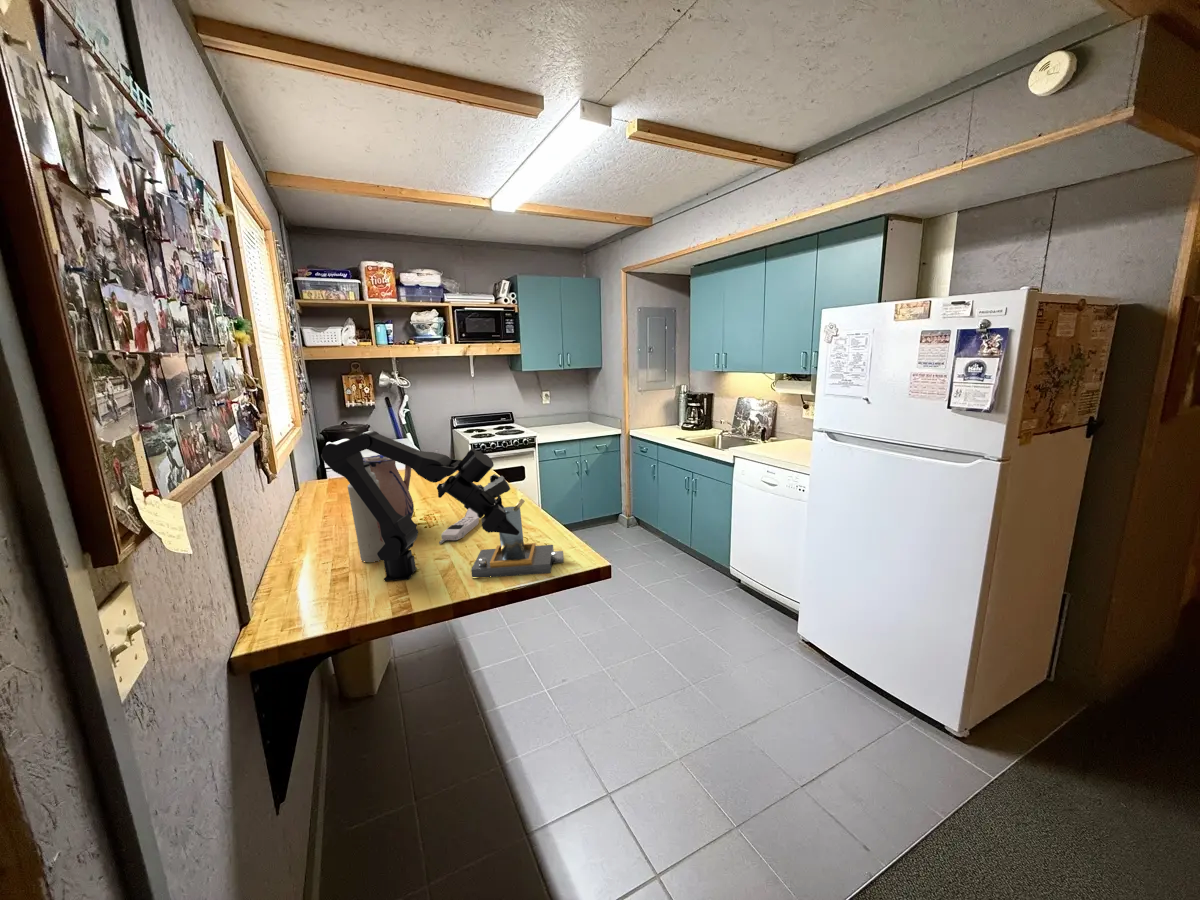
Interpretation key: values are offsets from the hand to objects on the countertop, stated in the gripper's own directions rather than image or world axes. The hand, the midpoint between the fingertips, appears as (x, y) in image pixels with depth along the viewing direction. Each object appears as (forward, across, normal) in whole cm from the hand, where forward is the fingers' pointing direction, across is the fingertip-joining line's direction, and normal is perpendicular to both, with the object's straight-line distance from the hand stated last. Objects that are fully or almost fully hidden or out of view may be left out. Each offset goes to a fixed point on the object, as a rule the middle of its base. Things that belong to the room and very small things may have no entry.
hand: (516, 527), depth 125 cm
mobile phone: (-2, +34, +17) cm, 38 cm away
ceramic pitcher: (-18, +45, +34) cm, 59 cm away
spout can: (+5, 0, +7) cm, 8 cm away
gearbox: (+8, 0, +7) cm, 11 cm away
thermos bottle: (-20, +22, +35) cm, 46 cm away
